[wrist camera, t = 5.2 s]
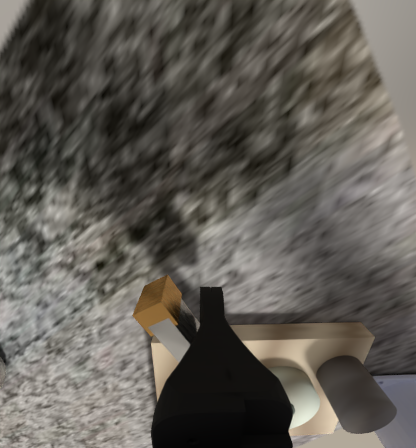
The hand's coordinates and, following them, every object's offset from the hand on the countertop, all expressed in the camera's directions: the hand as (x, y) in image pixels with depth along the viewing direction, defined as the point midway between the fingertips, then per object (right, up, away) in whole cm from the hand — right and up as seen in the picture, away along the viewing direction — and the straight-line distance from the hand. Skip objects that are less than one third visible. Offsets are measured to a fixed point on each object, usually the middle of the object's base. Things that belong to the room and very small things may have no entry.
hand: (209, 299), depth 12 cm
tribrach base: (+4, -10, +6) cm, 13 cm away
